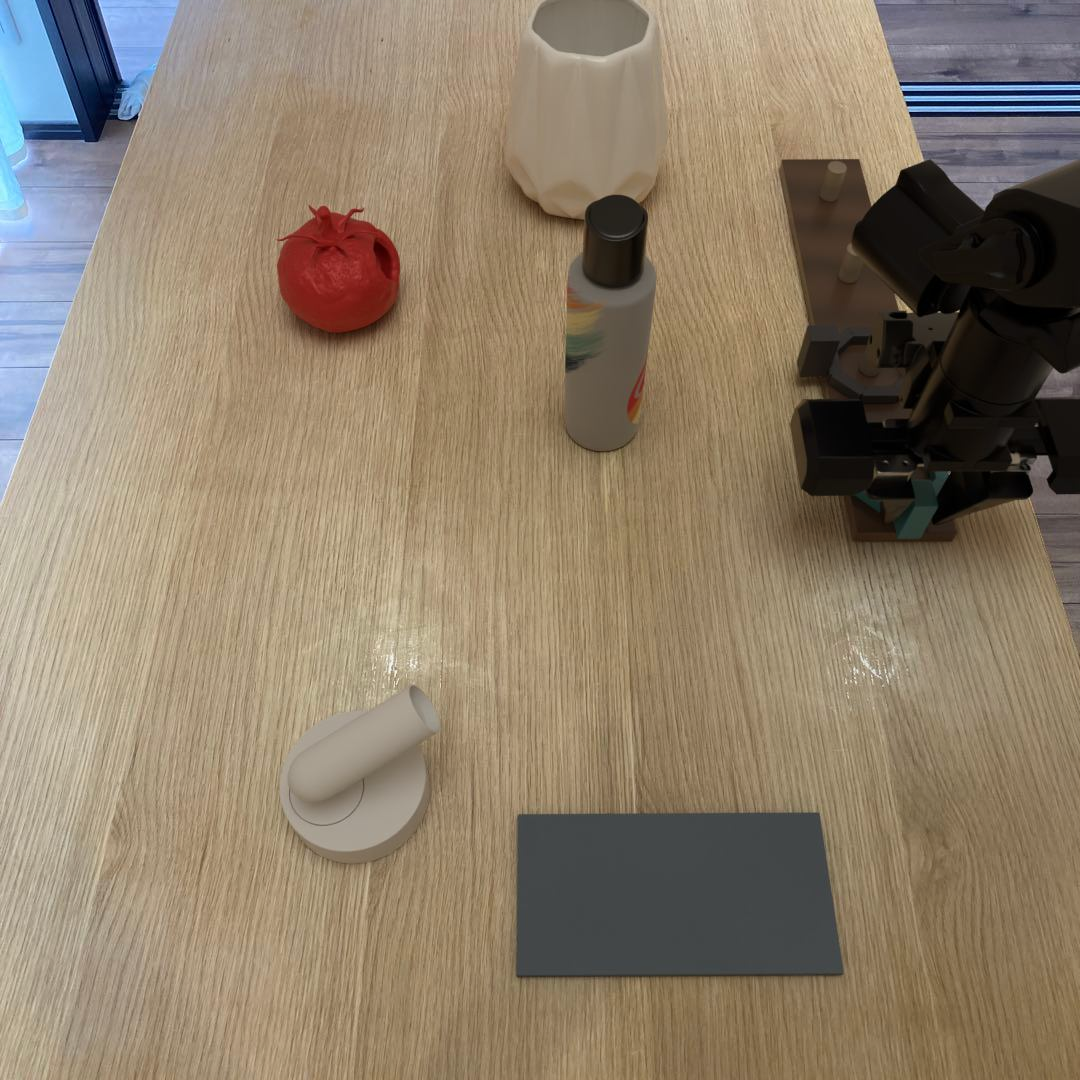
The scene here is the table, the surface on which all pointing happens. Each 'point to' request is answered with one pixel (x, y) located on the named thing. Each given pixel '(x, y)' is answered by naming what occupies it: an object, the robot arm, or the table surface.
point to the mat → (674, 895)
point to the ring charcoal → (824, 362)
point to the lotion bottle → (608, 325)
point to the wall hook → (361, 779)
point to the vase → (586, 104)
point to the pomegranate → (338, 271)
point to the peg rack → (845, 300)
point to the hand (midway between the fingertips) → (909, 519)
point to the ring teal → (916, 506)
